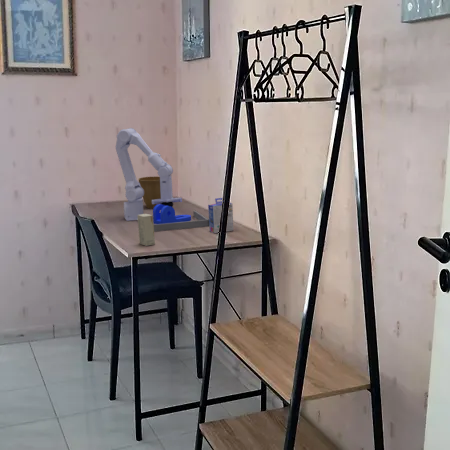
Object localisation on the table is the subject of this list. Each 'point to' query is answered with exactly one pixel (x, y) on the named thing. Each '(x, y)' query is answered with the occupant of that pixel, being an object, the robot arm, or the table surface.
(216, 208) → the ink cartridge box
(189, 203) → the table surface
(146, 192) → the plant pot
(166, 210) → the bracket
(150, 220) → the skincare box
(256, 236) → the table surface
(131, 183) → the robot arm
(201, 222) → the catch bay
